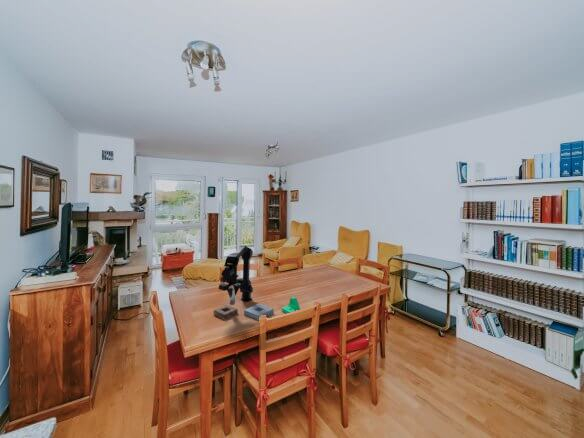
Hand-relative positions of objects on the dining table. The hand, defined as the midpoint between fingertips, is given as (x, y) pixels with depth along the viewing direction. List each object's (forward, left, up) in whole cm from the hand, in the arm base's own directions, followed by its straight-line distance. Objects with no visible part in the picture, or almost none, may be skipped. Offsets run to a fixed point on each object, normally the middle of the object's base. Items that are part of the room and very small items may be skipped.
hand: (232, 296), depth 167 cm
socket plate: (-11, +14, -12) cm, 21 cm away
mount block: (+3, -3, -12) cm, 13 cm away
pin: (0, 0, -5) cm, 5 cm away
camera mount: (-26, +30, -12) cm, 41 cm away
